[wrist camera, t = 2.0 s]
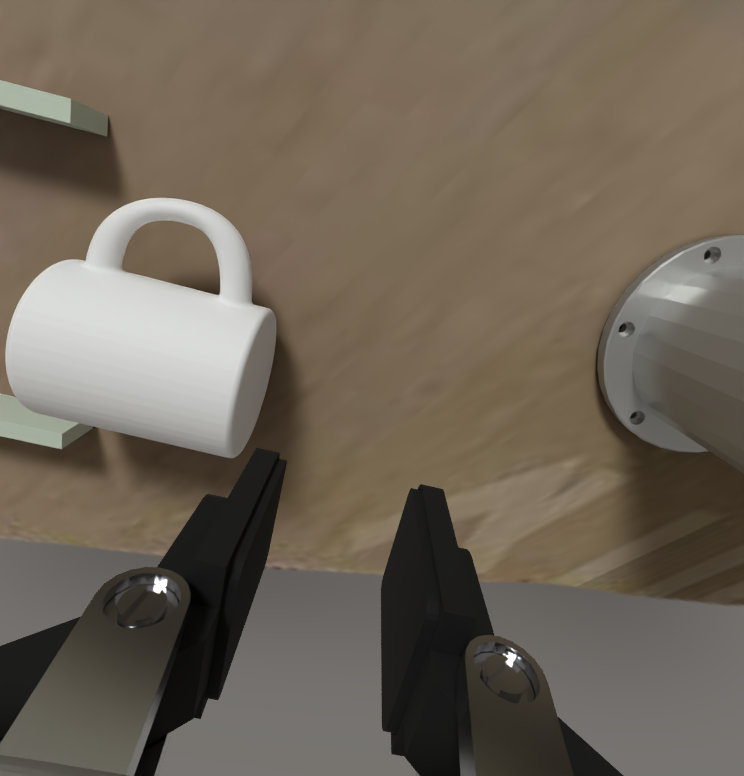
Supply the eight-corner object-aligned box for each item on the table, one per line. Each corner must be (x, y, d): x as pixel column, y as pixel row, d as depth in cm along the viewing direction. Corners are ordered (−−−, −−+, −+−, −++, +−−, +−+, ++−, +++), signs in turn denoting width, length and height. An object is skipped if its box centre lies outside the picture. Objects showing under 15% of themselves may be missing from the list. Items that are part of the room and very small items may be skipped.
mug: (261, 422, 29) (220, 489, 21) (102, 384, 28) (2, 439, 21) (299, 228, 25) (266, 225, 18) (118, 179, 25) (1, 154, 17)
